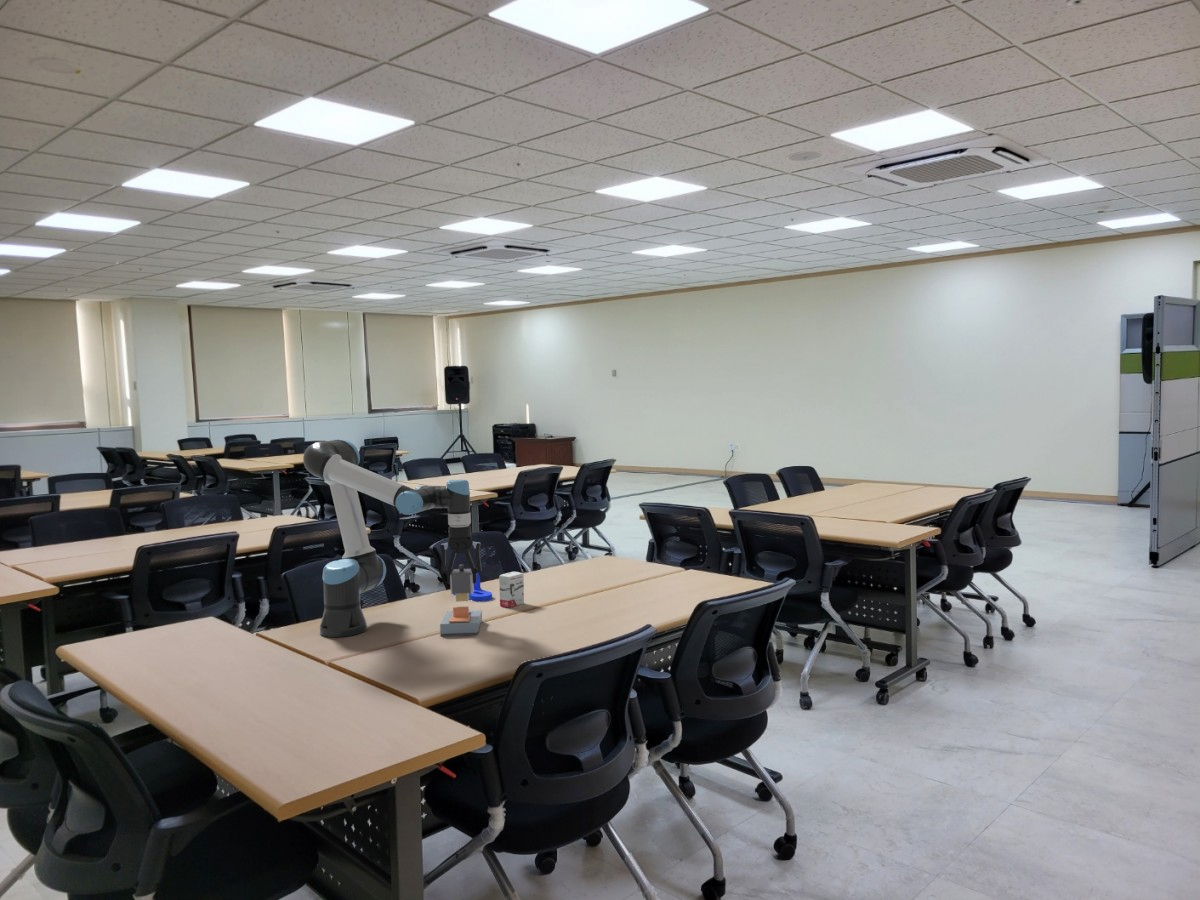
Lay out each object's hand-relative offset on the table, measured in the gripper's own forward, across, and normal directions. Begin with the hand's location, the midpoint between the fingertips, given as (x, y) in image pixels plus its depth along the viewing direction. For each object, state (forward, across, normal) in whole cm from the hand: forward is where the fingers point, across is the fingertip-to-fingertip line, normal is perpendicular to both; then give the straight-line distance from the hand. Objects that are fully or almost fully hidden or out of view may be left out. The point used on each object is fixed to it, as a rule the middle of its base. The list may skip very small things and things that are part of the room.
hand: (462, 592), depth 282 cm
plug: (+2, 0, 0) cm, 2 cm away
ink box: (+12, +15, +27) cm, 33 cm away
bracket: (+12, -1, +42) cm, 44 cm away
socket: (+11, 0, -3) cm, 12 cm away
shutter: (+7, 0, -7) cm, 10 cm away
